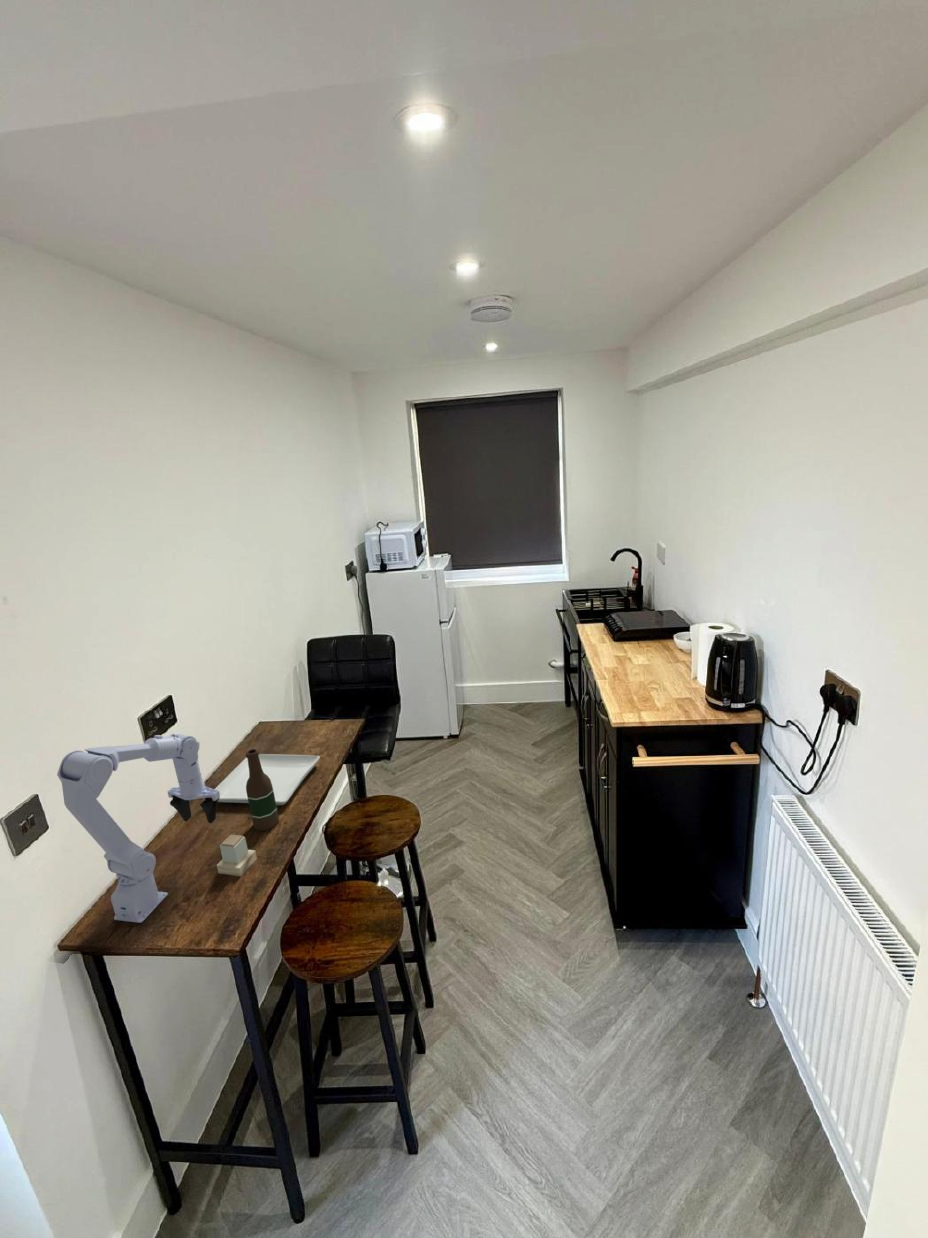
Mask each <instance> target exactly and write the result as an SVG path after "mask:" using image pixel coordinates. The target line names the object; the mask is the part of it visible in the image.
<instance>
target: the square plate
mask: <svg viewBox="0 0 928 1238" xmlns="http://www.w3.org/2000/svg"><path fill="white" fill-rule="evenodd" d="M258 756H259V760H260V763H261V767H262V770H263V772H264V773H265V774H266V775H267V776H268V777H269V778H270V780H271V783H272V787H273V791H274V796H275V801H276V806H283V805H285V804H287V802H289V800H290V798H291V797H292V796H293V794H294V793H295V791H296V790H297V789H298V788H299V786H300V785H301V783H302V782H303V780H305V778H306V777H307V776H308V774H309V773H310V772H311V771H312V770H313V768H314V767H315V765H316V764H317V763H318V762H319V760H320V757H321V756H319V755H308V754H307V755H304V754H282V753H281V754H278V753H277V754H274V753H268V754H267V753H266V754H265V753H263V754H262V753H259V755H258ZM248 779H249V766H248V759H247V758H246V757H245V758H244V759H243V760H242V761H241V762H240V763H239V764H238V765H237V766H236V767H235V768H234V769H233V770H232V771H231V772H230V773H228V775H227V776H226V777H225V778H224V779H223V780H222V781H221V782H220V783H219V784H218V785H217V786H215V787H216V788H214V790H219V794H220V798H219V800H218V803H235V804H239V803H240V804H249V802H248V797H247V792H246V783H247V781H248Z"/></svg>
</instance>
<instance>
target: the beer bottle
mask: <svg viewBox="0 0 928 1238" xmlns="http://www.w3.org/2000/svg"><path fill="white" fill-rule="evenodd" d="M259 754H260V752H259V750H258V749H257V748H252V749H249V750H247V751H246V752H245V758H247V759H248V766H249V779H248V781H247V783H246V792H247V797H248V802H249V803H248V806H249V811H250V816H251V821H252V824H253V828H254V830H257V831H262V832H263V831H264V832H265V831H267V830H271V829H273V828H274V827H275V826H276V825H278V823H280V817H279V812H278V807H277V806H278V805H276V801H275V796H274V791H273V787H272V783H271V780H270V778H269V777H268V776H267V775H266V774H265V773H264V772H263V770H262V767H261V763H260V760H259V756H258V755H259Z"/></svg>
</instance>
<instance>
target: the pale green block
mask: <svg viewBox="0 0 928 1238" xmlns="http://www.w3.org/2000/svg"><path fill="white" fill-rule="evenodd" d="M219 849H220V852H221V857H222V859H223V862H227V863H235V864H239V862H240V861H241V860H242V859H243V858H244V857H245V856H246V855H247V854H248V850H249V849H248V845H247V841H246V837H245V836H244V835H240V834H239V835H237V834H229V835H228V836H227V837H226V838H225V839H224V840H223V842H221V844H220V845H219Z"/></svg>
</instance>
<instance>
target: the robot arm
mask: <svg viewBox="0 0 928 1238" xmlns="http://www.w3.org/2000/svg"><path fill="white" fill-rule="evenodd" d="M199 750H200V741H197V738H196V737H194V736H190V735H184V734H179V733H171V734H170V735H169V736H163V735H160V734H156V735H154V736H153V737H150V738H148V739H146V740H145V741H144V743H141V744H126V745H113V746H110V745H109V746H98V747H89V748H86V749H85V748H84V749H83V750H73V751H71V752H68V753H67V754H66V755H65V756H64V757H63V758H62V760H61V762H60V765H59V767H58V771H57V774H56V776H57V777H58V779H59V781H60V782H61V787H62V796H63V802H64V806H65V807H66V808H65V809H67V810H68V811H69V812H70V814H71V815H72V816H73V817H74V818H75V819H76V821H77V822H78V823H79V824H80V825H81V827H82V828H84V830H86V832H87V833H88V834H89V835H90V837H92V839H93V840H94V842H96V844H98V845H99V846H100V847H101V849H102V850H103V851H104V854H103V857H104V859H105V860H106V863H107V869H108V870H109V872H111V873H114V874H115V875H116V878H117V880H118V882H117V886H116V888H115V890H114V891H113V892H112V894H111V896H110V901H111V904H112V908H113V911H114V914H115V915H114V917H113V919H114V921H123V922H131V923H139V924H140V923H143V922H144V921H145V920H146V919H147V918H148V917H149V915H151V913H152V912H153V911H154V910H155V909H156V908H157V907H158V906H159V905H160V903H161V902H163V900H164V899H165V898H166V897H167V896H168V895H169V894H168V892H165V891H159V890H158V887H157V884H156V879H155V876H154V869H155V867H156V864H157V862H156V861H157V858H156V856H155V855H154V854H153V853H152V852H148V851H146V850H145V849H144V848H143V847H141V846H140V845H138V844H136V843H134V842H133V841H132V840H131V839H130V838H129V836H127V834H126V833H125V831H123V830H122V828H121V827H120V826H119V825H118V823H117V822H116V820H114V818H113V817H112V816H111V815H110V813H108V811H107V810H106V808H104V807H103V805H102V804H101V803H100V801H98V798H99V797H100V795H101V793H102V792H103V790H104V788H105V787H106V785H107V783H108V781H109V779H110V777H111V776H112V774H113V771H114V772H116V771H117V770H118V768H119V764H120V763H123V762H128V761H133V760H139V759H143V758H144V760H145V761H147V762H150V763H153V762H159V761H167V760H172V761H173V762H172V763H173V765H174V770H175V774H176V777H177V783H178V787H171V788H169V790H167V795H168V798H171V800H170V801H169V805H170V806H171V807H173V808H174V809H175V810H176V811H177V813H179V815H180V817H181V818H182V820H183V821H184V822H186V823H187V822H188V820H190V819H191V818H192V811H191V806H190V801H191V800H197V799H204V801H202V802H201V803H200V804H199V806H200V807H201V809H202V810H203V811H204V814H205V816H206V820H207V822H208V824H212V823H213V822H214V821H215V820H216V818H217V817H216V815H217V807H218V806H217V805H218V803H219V802H218V800H219V798H220V794H219V790H214V789H215V788H214V789H213V788H211V787H208V786H206V783H205V782H204V781H203V776H202V773H201V768H200V763H199V759H198V758H199Z"/></svg>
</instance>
